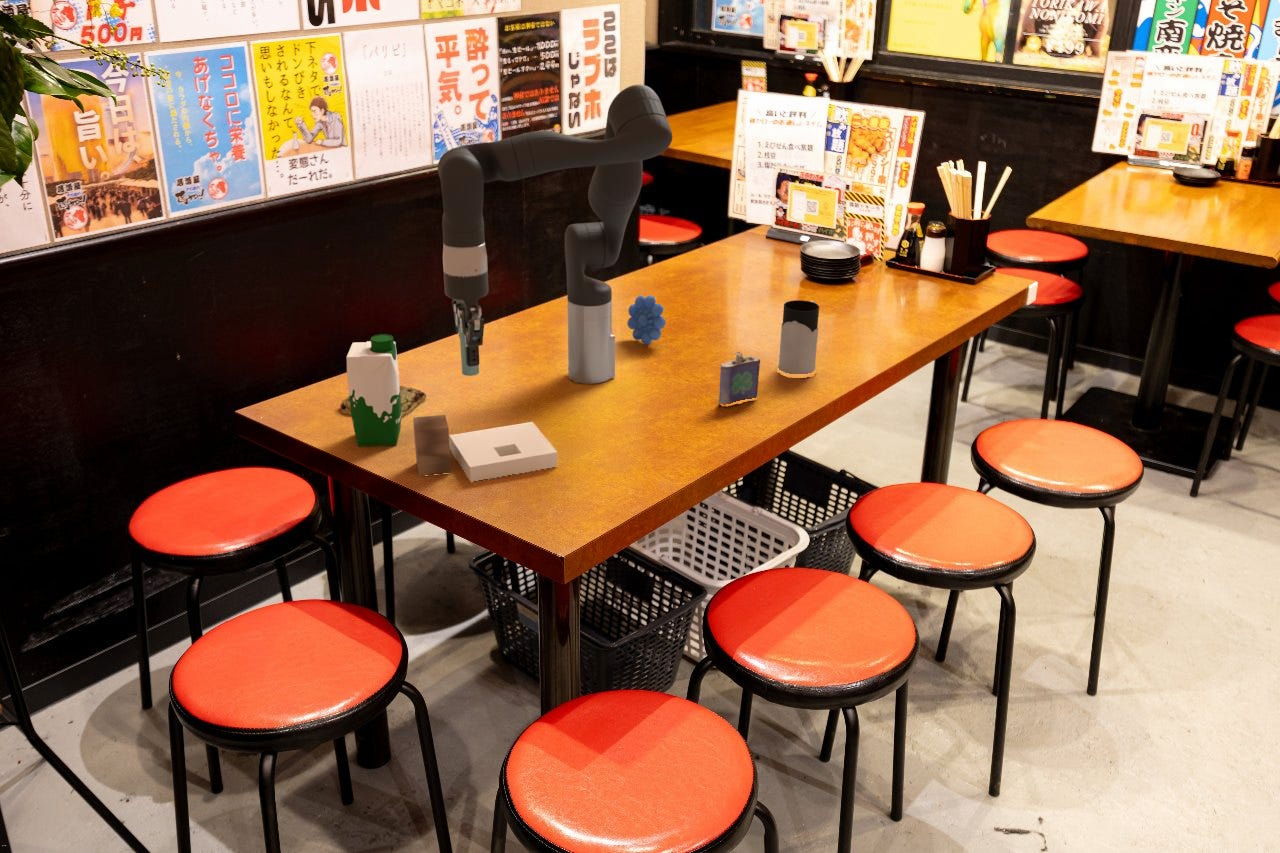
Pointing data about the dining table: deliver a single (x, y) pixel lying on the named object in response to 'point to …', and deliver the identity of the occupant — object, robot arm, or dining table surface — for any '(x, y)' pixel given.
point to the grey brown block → (432, 445)
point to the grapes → (646, 319)
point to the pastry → (408, 401)
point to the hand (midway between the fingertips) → (470, 361)
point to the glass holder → (799, 337)
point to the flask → (739, 379)
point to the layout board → (502, 451)
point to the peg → (465, 368)
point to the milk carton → (374, 391)
